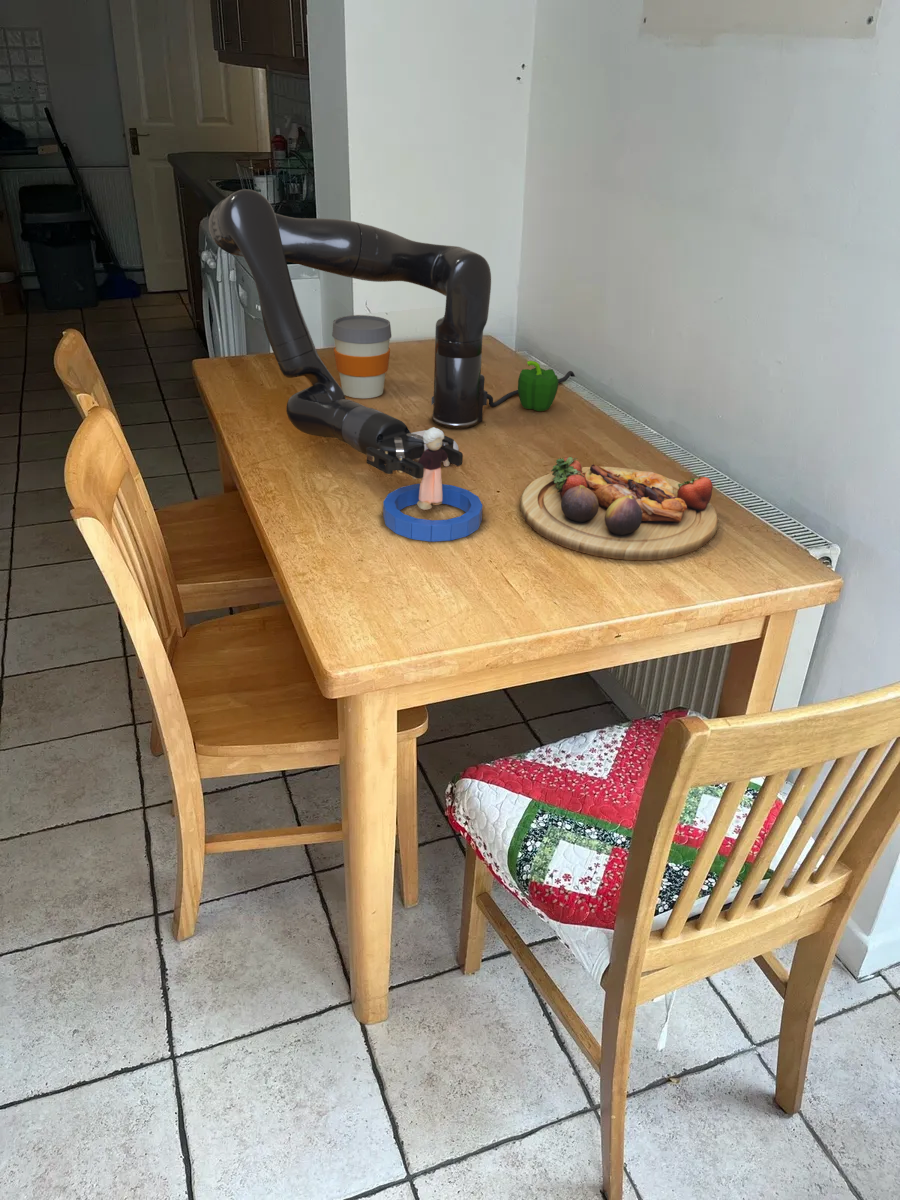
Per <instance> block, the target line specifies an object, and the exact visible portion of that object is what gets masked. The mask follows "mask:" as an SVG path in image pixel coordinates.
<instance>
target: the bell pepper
mask: <svg viewBox="0 0 900 1200" xmlns="http://www.w3.org/2000/svg"><path fill="white" fill-rule="evenodd" d="M526 363H527V366H528V367H529V366H533V367H534V368H531V369H529V368H525V369H524V368H522V369H521V371H520V373H519V376H518V379H517V390H518V393H519V394H518V398H519V401H520V402H519V403H520V405H521V407H522V408H523V409H526V410H534V411H536V412H545V411H549V409H550V408H551V407H552V405H553V403H554V400H555V398H556V396H557V392H558V390H559V389H558V388H559V383H558V379H559V378H558V375H556V373H555V371H554V369H553V368H552V369H551V368H549V369H543V368H541V365H540V363H538V362H537V361H535V360H528V361H526Z"/></svg>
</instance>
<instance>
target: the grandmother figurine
mask: <svg viewBox="0 0 900 1200" xmlns="http://www.w3.org/2000/svg"><path fill="white" fill-rule="evenodd" d="M425 430H426V431H425V433H424V435H423V438H424V439H423V441H424V443H426V446H427V448H428V449H427V450H426V451H424V453H423V454H422V456H421V458H420V459H419V461H418V463H420V464H422V465H423V467H424V473H423V478H420V483H419V484H420V490H419V501H418V502H417V504H416V506H417V507H418V508H419V509H421V510H424V511H425V510H430V509H432V507H433V506H439V505H443V504H442V500H443V494H442V484H443V482H442V469H441V468H442V465H443V466H444V467H446V468H447V467H449V466H450V464H451V463H450V462H449V461H448V455H447V453H446V452H445V451H444V450H443V449H441V446H442V440H443V439H444V435H445V433H444V431H443V430H441V429H440V428H437V427H435V426H433V427H430V428H428V429H425ZM441 461H442V462H441ZM411 477H412V479H413V480H418V479H417V478H415V477H413V476H411ZM432 505H433V506H432Z"/></svg>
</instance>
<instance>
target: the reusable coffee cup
mask: <svg viewBox="0 0 900 1200" xmlns="http://www.w3.org/2000/svg"><path fill="white" fill-rule="evenodd" d="M331 335H332V338H333V339H334V341H333V342H334V347H333V353H334V359H335V360H334V361H335V366H336V371H337V372H338V373H339V379H340V388H341V389H342V391H343V393H344V395H345V397H349V398H353V399H373V398H376V397H380V396H381V395H383V394H384V388H385V381H386V380H385V379H386V373H387V372H388V370H389V364H390V355H391V348H390V341H391V339H392V327H391V321H390V320H389V319H387V318H384V317H380V316H376V315H364V314H355V315H346V316H341V317H340V316H339V317H338V318H336V319H334V320H333V321H332V333H331Z"/></svg>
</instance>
